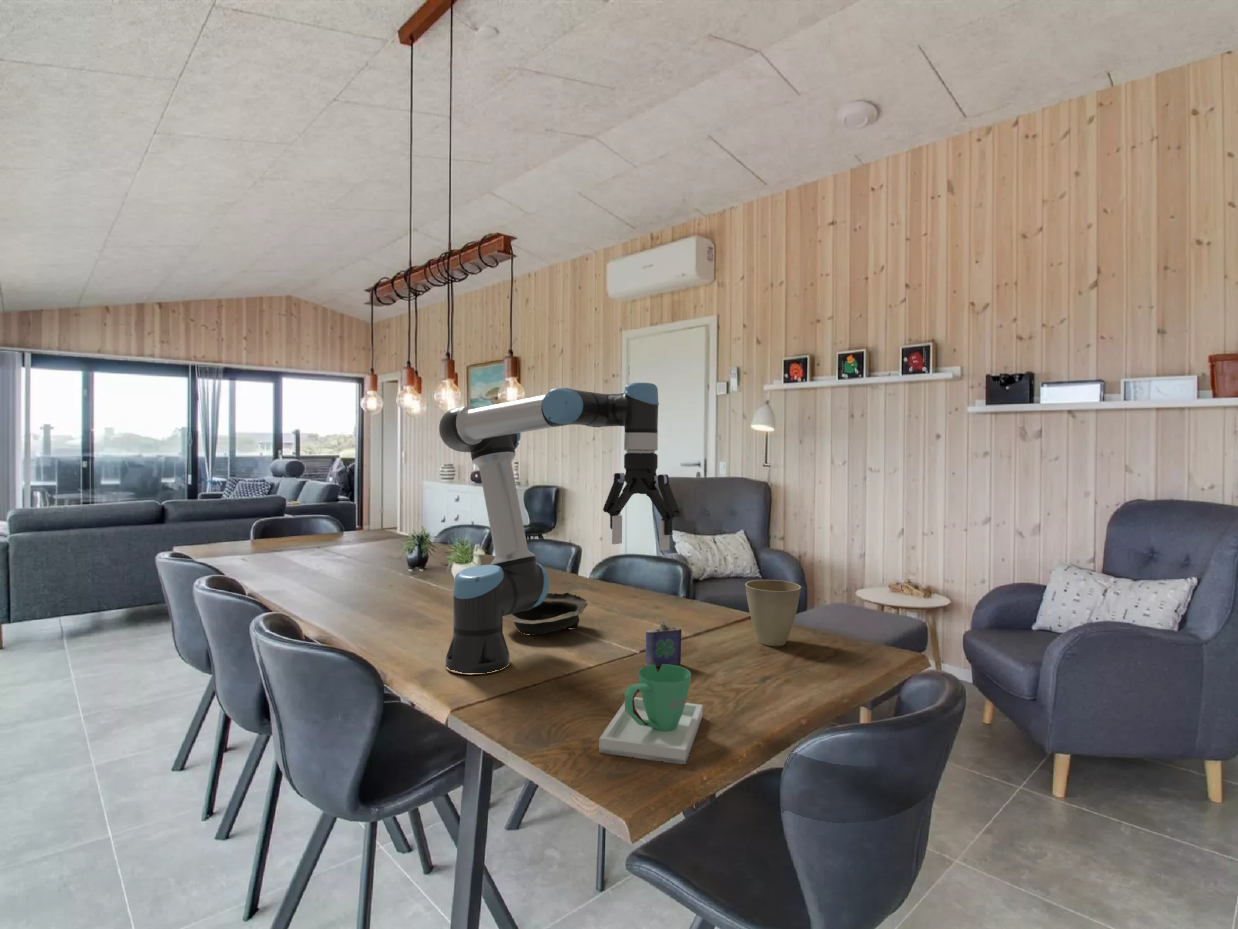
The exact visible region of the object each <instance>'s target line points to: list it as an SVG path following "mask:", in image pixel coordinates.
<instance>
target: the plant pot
mask: <svg viewBox="0 0 1238 929" xmlns="http://www.w3.org/2000/svg"><path fill="white" fill-rule="evenodd" d="M744 586H745V593H746V599H747V600H746V601H747V606H748V611H749V614H750V618H751V623H752V626H753V629H754V633H755V635H756V638H757V640H758V643H759V644H761V645H763V646H771V647H781V646H784V645H786V643H787V641H788V639H789V636H790V633H791V631H792V628H793V625H794V622H795V619H796V615H797V611H798V607H799V602H800V595H801V588H802V586H801V585H799V583H794V582H791V581H785V580H776V579H755V580H753V579H752V580H749V581H747V582H745V584H744Z"/></svg>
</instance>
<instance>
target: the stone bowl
mask: <svg viewBox="0 0 1238 929" xmlns="http://www.w3.org/2000/svg"><path fill="white" fill-rule="evenodd" d="M588 605H589V604H588V603H587V599H585V598H583V597H581V596H579V595H577V594H571V593H569V592H565V593H557V592H556V593H549V592H548V593H547V596H546V597H545V599H544V601H543V602H542V603H541V604H539V605H538V606H536V607H533V608H531V609H529V610H525V611H520V612H517V613H513V614H509V615H506V616H503V618H505V619H506V620H507V621H510V622H513V624H514V626H515V627H516V629H517V630H519V631H520V632H522V633H525V634H530V635H531V636H533V635H534V636H536V635H537V636H538V635H544V634H548V633H552V632H554V631H555V632H556V631H561V630H564V629H567V628H576V629H577V628H578V627H579V626H578V625H579V623H580V616H579V615H581V614H583V612H584V610H585V608H586V607H587V606H588ZM519 631H518V632H519ZM520 632H519V633H520ZM522 633H521V634H522Z"/></svg>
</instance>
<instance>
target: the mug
mask: <svg viewBox="0 0 1238 929" xmlns="http://www.w3.org/2000/svg"><path fill="white" fill-rule="evenodd" d="M657 669H658V668H656V666H655V665H649V666H643V667H641V668H640V669H639V670H638V673H637V674H638V682H639V683H634V684H631V685H628V686H627V687H626V691H625V692H624V693H623V694H624V702H625V710H626V712H627V713H628V714H629V715H630V716H631V717H632V718H633V719H634V720H635V722H636V723H637V724H639V725H641V726H646V727H651V728H653V729H655V730H658V731H672V730H674V729H676V727H677V725H678V723H679V720H680V718H681V715H682V713H683V709H684V706H685V703H687V699H688V694H689V690H690V689H689V688H690V685H691V680H692V676H691V675H692V674H691V671H690V670H688V668H685V667H682V666H681V665H680V666H676V665H669V664H662V665H661V667H660V668H659V670H657ZM639 693H641V698H642V699H643V703H644V707H645V710H646V714H647V717H648V719H649V720H645V719H642V718H641V717H640V715H639V714H638V712H637V711H636V709H635V705H634V698H635V697H636V696H637V694H639Z"/></svg>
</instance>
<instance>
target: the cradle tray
mask: <svg viewBox="0 0 1238 929" xmlns="http://www.w3.org/2000/svg"><path fill="white" fill-rule="evenodd" d="M634 705H635V709H636V711H637V712H638V714H639V715H640V717H641V718H642V719H645V720H649V719H648V717H647V714H646V710H645V707H644V703H643V699H642V697H639V696H638V697H636V696H635V698H634ZM702 719H703V704H697V703H689V702H686V703H685V706H684V709H683V713H682V715H681V718H680V720H679V723H678V725H677V727H676V729H674V730H672V731H658V730H655V729H653V728H651V727H646V726H641V725H639V724H637V723H636V722H635V720H634V719H633V718H632V717H631V716H630V715H629V714H628V713H627V712H626V710H625V701H624V702H623V703H622V705H621V706H620V707H619V709H618V711H617V712H616V714H615V715H614V717H613V718H612V719H611V721H609V724H608V725H607V726H606V727H605V729H604V731H603V733H602V734H601V735H600V737H599V738H598V740H599V741H598V745H599V746H598V753H599V754H604V755H613V756H619V757H624V758H632V757H633V759H640V760H647V761H655V762H661V761H663V763H670V764H675V765H682V764H687V762H688V759H689V755H690V754H689V753H691V750H692V748H693V745H694V743H695V739H696V736H697V734H698V730H699V727H700V725H701V723H702V722H701V721H702ZM691 747H692V748H691ZM686 761H687V762H686Z"/></svg>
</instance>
